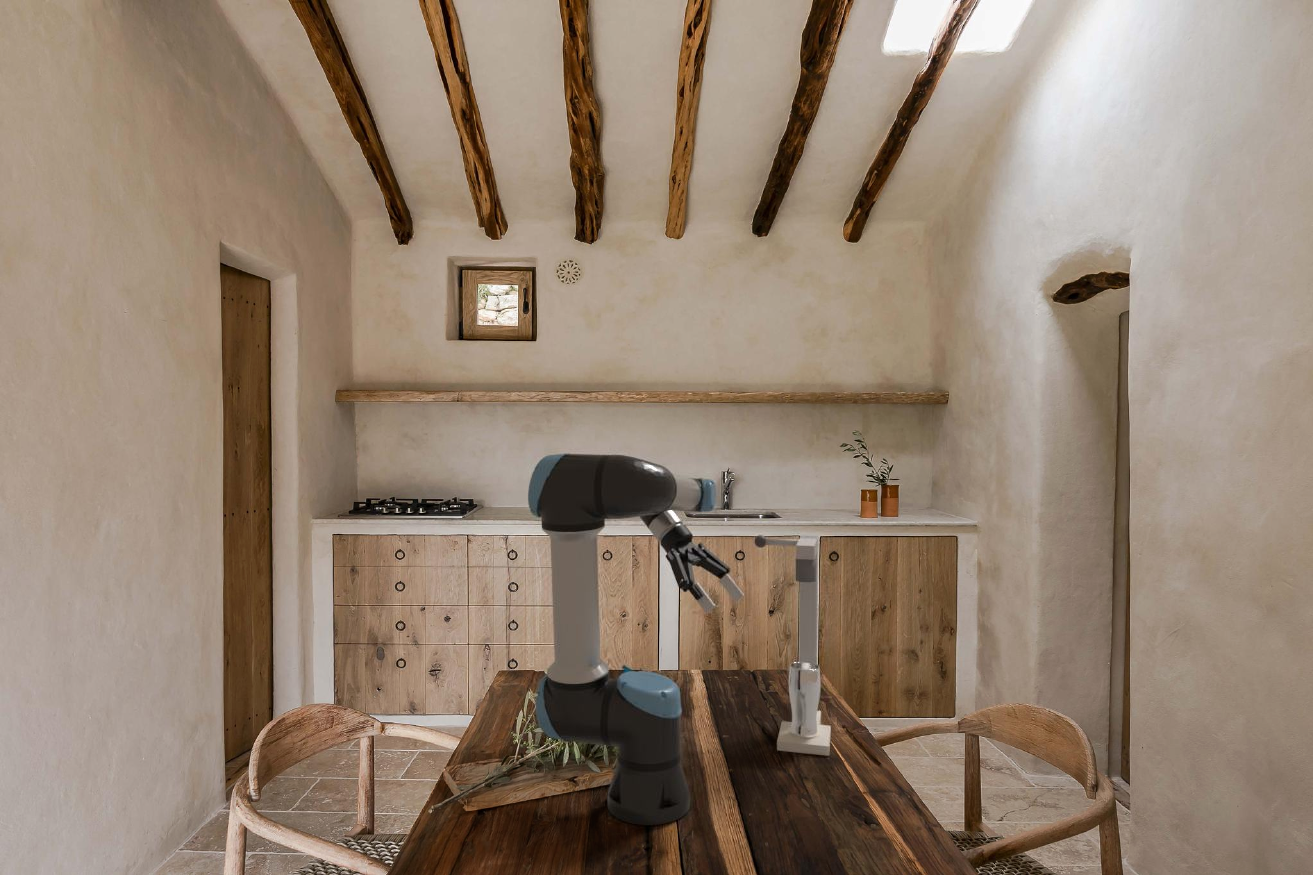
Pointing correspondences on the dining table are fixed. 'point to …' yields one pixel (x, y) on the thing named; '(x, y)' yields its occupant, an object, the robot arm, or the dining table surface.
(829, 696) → the dining table surface
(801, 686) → the beer glass
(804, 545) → the stand
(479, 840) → the dining table surface
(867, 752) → the dining table surface
